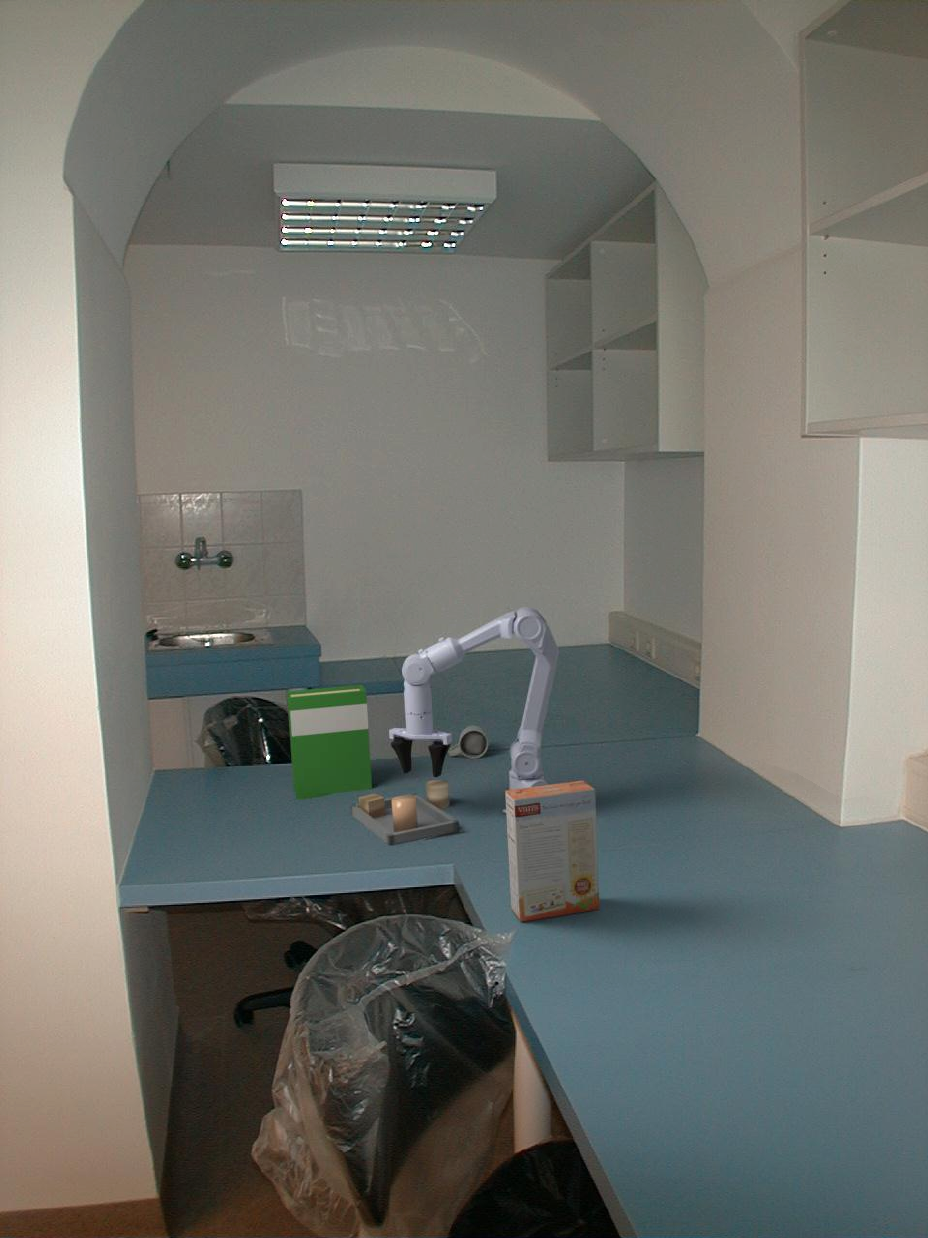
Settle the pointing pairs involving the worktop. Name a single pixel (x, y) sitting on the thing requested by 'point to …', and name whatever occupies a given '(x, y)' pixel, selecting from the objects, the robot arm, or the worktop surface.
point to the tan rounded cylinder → (404, 813)
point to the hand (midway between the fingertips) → (422, 774)
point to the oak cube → (372, 805)
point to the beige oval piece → (438, 793)
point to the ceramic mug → (471, 743)
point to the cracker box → (552, 850)
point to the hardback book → (329, 741)
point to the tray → (428, 825)
